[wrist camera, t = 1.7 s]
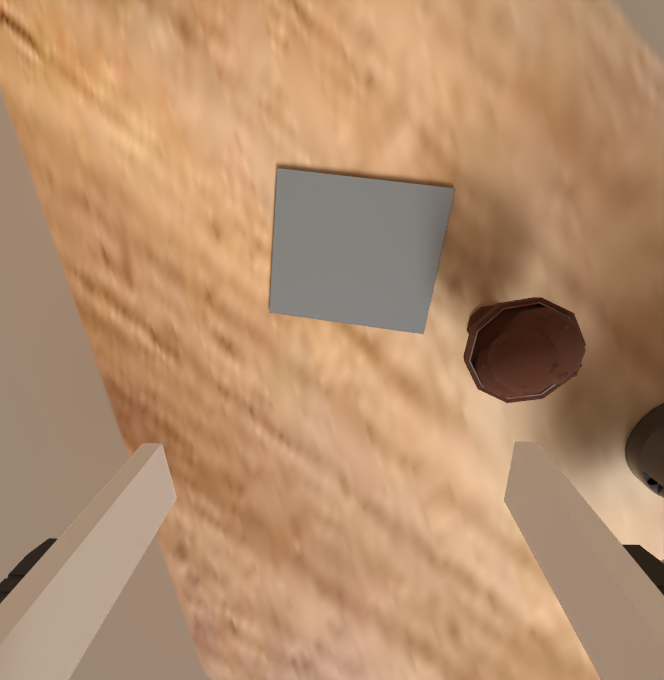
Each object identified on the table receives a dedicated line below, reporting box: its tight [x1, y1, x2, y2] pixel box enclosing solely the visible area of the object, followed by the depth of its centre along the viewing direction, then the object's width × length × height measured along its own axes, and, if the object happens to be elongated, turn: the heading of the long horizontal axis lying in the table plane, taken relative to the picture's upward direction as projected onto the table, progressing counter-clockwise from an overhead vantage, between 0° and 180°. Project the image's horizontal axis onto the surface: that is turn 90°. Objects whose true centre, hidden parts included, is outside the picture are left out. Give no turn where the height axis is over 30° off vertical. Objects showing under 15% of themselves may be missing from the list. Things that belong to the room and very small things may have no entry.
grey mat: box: [269, 168, 455, 334], centre depth 40 cm, size 20×17×1 cm
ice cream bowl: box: [464, 297, 586, 403], centre depth 34 cm, size 11×11×15 cm
